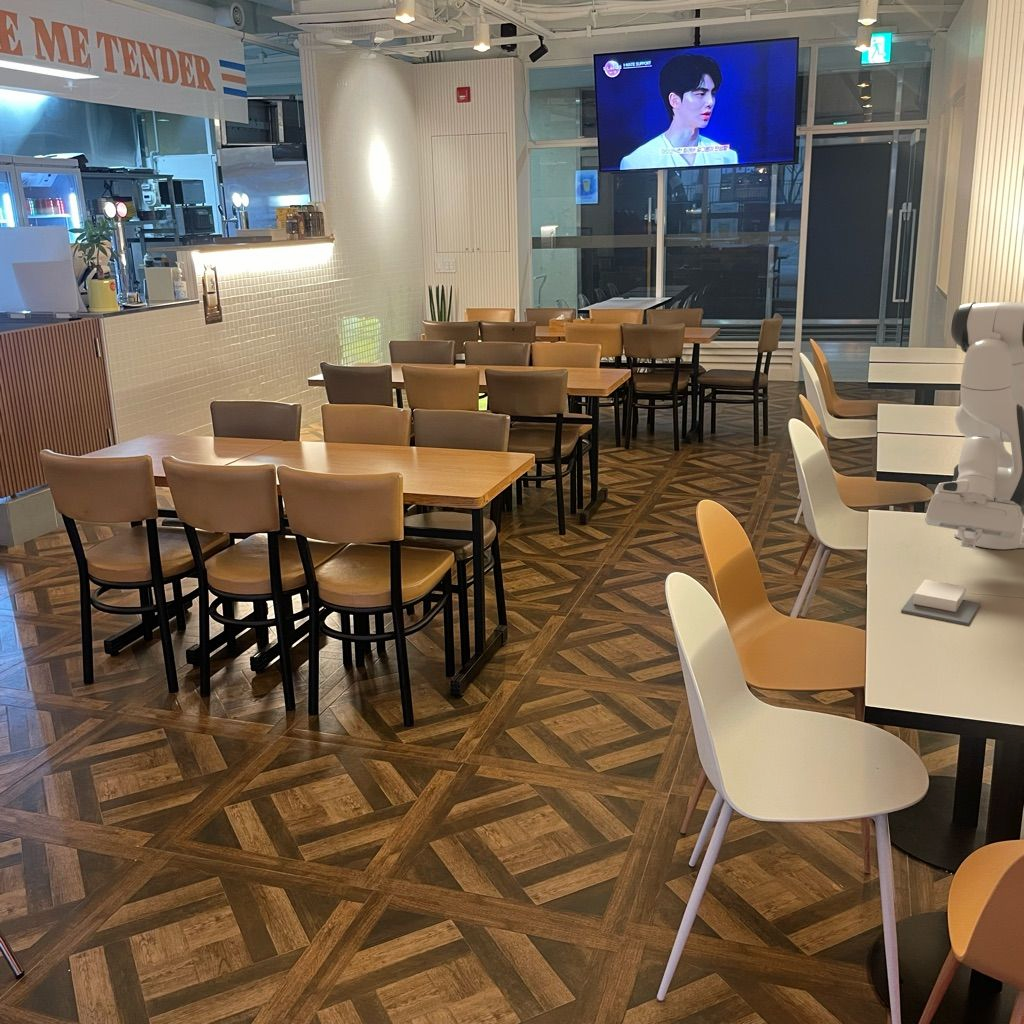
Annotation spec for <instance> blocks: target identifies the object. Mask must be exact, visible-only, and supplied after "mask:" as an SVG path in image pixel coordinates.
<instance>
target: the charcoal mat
mask: <svg viewBox="0 0 1024 1024" xmlns="http://www.w3.org/2000/svg"><path fill="white" fill-rule="evenodd" d="M915 592H916V590H915V591H914V593H915ZM914 593H913V594H912V595H911V597H910V598H909V599H908V601H906V603H905V604H904V605H903V607H902V608H901V610H900V613H902V614H903V613H904V614H908V615H913V616H918V617H925V618H928V619H935V620H940V621H945V622H949V623H953V624H959V625H964V626H969V625H970V623H971V622H972V620H973V618H974V616H975V615H976V613H977V612H978V610H979V608H980V606H981V602H977V601H972V600H967V599H963V601H962V603H961V604H960V606H959V607H958V609H957V610H956V612H951V611H946V610H941V609H936V608H930V607H925V606H920V605H916V604H913V600H914Z"/></svg>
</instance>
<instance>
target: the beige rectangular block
mask: <svg viewBox="0 0 1024 1024" xmlns="http://www.w3.org/2000/svg"><path fill="white" fill-rule="evenodd" d="M915 591H916V592H915ZM915 591H914V593H913V594H914V600H913V604H916V605H920V606H925V607H930V608H936V609H941V610H946V611H951V612H956V610H957V609H958V607H959V606H960V604H961V603H962V601H963V600H965V598H966V592H967V586H965V585H960V584H953V583H949V582H948V583H947V582H942V581H936V580H931V579H926V578H925V579H924V580H923V581H922V583H921V584H920V585H919V587H917V589H916V590H915Z"/></svg>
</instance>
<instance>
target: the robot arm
mask: <svg viewBox="0 0 1024 1024" xmlns="http://www.w3.org/2000/svg"><path fill="white" fill-rule="evenodd" d="M950 331H951V337H952V339H953V341H954V343H955V344H956V345H958V346H959V347H960V349H961V351H962V352H964V353H965V357H964V361H963V365H962V370H961V375H960V377H961V378H960V389H959V391H960V405H959V406H958V408H957V410H956V412H955V418H954V419H955V420H954V422H955V426H956V428H957V430H958V431H959V433H961V434H962V435H963V436H964V437H965V440H964V442H963V444H962V448H961V450H960V455H959V460H958V464H956V465H955V466H954V468H953V476H952V481H946V482H945V481H944V482H940V483H938V484H937V486H936V488H935V490H934V494H933V495H932V497H931V499H930V501H929V504H928V507H927V510H926V513H925V516H924V522H925V523H926V525H927V526H932V527H938V528H944V529H949V530H957V531H955V532H954V535H953V536H954V537H955V538H957V539H960V541H961V543H960V547H962V548H963V547H964V548H968V549H975V548H976V546H977V547H980V548H985V549H986V548H987V549H992V550H993V549H994V550H1012V549H1013V550H1014V549H1024V514H1023V513H1022V509H1023V508H1024V303H1023V302H1016V301H1015V302H1014V301H1001V302H1000V301H999V302H997V301H993V302H991V301H990V302H977V303H976V302H975V301H974V302H966V303H963V304H960V305H959V306H958V307H957V308H956V309H955V311H954V312H953V315H952V317H951V322H950ZM1004 443H1010V447H1011V448H1010V450H1011V453H1010V452H1008V450H1007V449H1006V446H1005V444H1004Z"/></svg>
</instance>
